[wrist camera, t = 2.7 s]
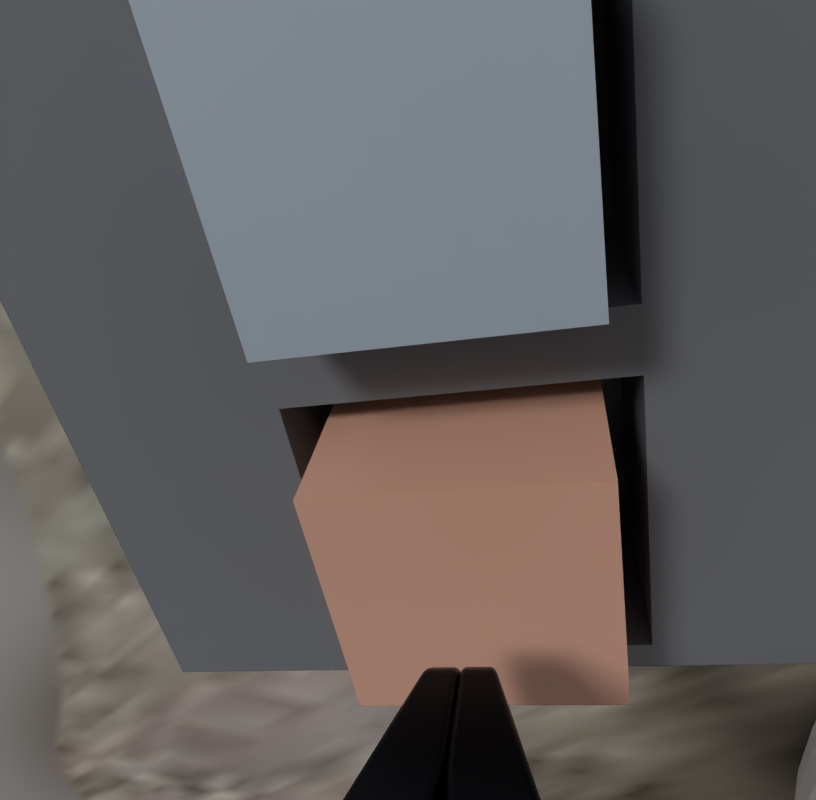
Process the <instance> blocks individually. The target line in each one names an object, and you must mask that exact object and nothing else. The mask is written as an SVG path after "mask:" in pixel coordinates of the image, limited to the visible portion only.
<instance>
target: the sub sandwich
mask: <svg viewBox="0 0 816 800" xmlns="http://www.w3.org/2000/svg"><path fill="white" fill-rule="evenodd" d="M794 800H816V721H815V723H814V725H813V727H812V730H811V733H810V736H809V739H808V742H807V745H806V748H805V751H804V754H803V757H802V760H801V763H800V766H799V768H798V774H797V782H796V791H795V799H794Z"/></svg>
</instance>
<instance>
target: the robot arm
mask: <svg viewBox="0 0 816 800" xmlns="http://www.w3.org/2000/svg"><path fill="white" fill-rule="evenodd" d="M343 800H541V799H540V796H539V794H538V791H537V788H536V785H535V782H534V779H533V776H532V773H531V770H530V767H529V764H528V761H527V758H526V756H525V753H524V750H523V747H522V744H521V741H520V738H519V735H518V732H517V729H516V726H515V723H514V720H513V717H512V715H511V712H510V709H509V706H508V703H507V700H506V697H505V694H504V691H503V688H502V685H501V682H500V679H499V677H498V674H497V671H496V670H495V669H494V668H493V667H465V668H463V669H462V671H461V672H460V670H459V669H458V668H455V667H431V668H428V669H426V670H425V671H424V672H423V673H422V675H421V676H420V678H419V679H418V681H417V682H416V684H415V686H414V687H413V689H412V690H411V692H410V694H409V695H408V697H407V698H406V700H405V702H404V703H403V705H402V706H401V708H400V710H399V711H398V713H397V714H396V716H395V718H394V719H393V721H392V722H391V724H390V726H389V727H388V729H387V730H386V732H385V734H384V735H383V737H382V738H381V740H380V742H379V743H378V745H377V746H376V748H375V750H374V751H373V753H372V754H371V756H370V758H369V759H368V761H367V762H366V764H365V766H364V767H363V769H362V770H361V772H360V774H359V775H358V777H357V778H356V780H355V782H354V783H353V785H352V786H351V788H350V790H349V791H348V793H347V794H346V796H345V798H344V799H343Z"/></svg>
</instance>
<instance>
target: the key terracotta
mask: <svg viewBox="0 0 816 800" xmlns="http://www.w3.org/2000/svg"><path fill="white" fill-rule="evenodd" d="M293 503H294V506H295V509H296V512H297V515H298V518H299V521H300V524H301V527H302V530H303V533H304V536H305V539H306V542H307V545H308V548H309V551H310V554H311V557H312V560H313V563H314V566H315V569H316V573H317V576H318V579H319V582H320V585H321V588H322V591H323V594H324V597H325V600H326V603H327V606H328V609H329V612H330V615H331V618H332V621H333V624H334V627H335V630H336V633H337V636H338V639H339V642H340V646H341V649H342V652H343V655H344V658H345V661H346V664H347V667H348V670H349V673H350V676H351V679H352V682H353V685H354V688H355V691H356V694H357V697H358V700H359V703H360V706H402V705H403V703H404V702H405V700H406V698H407V697H408V695H409V694H410V692H411V690H412V689H413V687H414V686H415V684H416V682H417V681H418V679H419V678H420V676H421V675H422V673H423V672H424V671H425V670H426V669H428V668H431V667H455V668H458V669H459V670H460V672H461V671H462V669H463V668H465V667H493V668H494V669H495V670H496V671H497V674H498V677H499V679H500V682H501V685H502V688H503V691H504V694H505V697H506V700H507V703H508V705H630V691H629V673H628V655H627V637H626V619H625V601H624V583H623V565H622V547H621V529H620V511H619V493H618V478H617V473H616V467H615V461H614V455H613V449H612V444H611V438H610V432H609V426H608V420H607V415H606V409H605V403H604V397H603V391H602V386H601V380H600V379H599V380H588V381H577V382H567V383H556V384H545V385H534V386H523V387H512V388H501V389H490V390H480V391H469V392H458V393H447V394H436V395H425V396H414V397H403V398H392V399H382V400H371V401H360V402H349V403H338V404H334V405H333V407H332V410H331V412H330V414H329V417H328V419H327V421H326V424H325V426H324V428H323V431H322V433H321V436H320V438H319V440H318V443H317V445H316V447H315V450H314V452H313V454H312V457H311V459H310V462H309V464H308V466H307V469H306V471H305V473H304V476H303V478H302V480H301V483H300V485H299V487H298V490H297V492H296V495H295V497H294V499H293Z"/></svg>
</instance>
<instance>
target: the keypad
mask: <svg viewBox="0 0 816 800" xmlns="http://www.w3.org/2000/svg"><path fill="white" fill-rule="evenodd" d="M591 8H592V26H593V44H594V62H595V80H596V98H597V116H598V134H599V152H600V170H601V188H602V206H603V224H604V242H605V260H606V278H607V296H608V314H609V324H606V325H596V326H587V327H577V328H568V329H559V330H549V331H540V332H531V333H521V334H512V335H503V336H493V337H484V338H475V339H465V340H456V341H446V342H437V343H428V344H418V345H409V346H400V347H390V348H381V349H372V350H362V351H353V352H344V353H334V354H325V355H315V356H306V357H297V358H287V359H278V360H269V361H259V362H250V363H247V360H246V357H245V354H244V350H243V347H242V344H241V341H240V338H239V335H238V332H237V329H236V326H235V323H234V320H233V317H232V314H231V311H230V308H229V305H228V302H227V299H226V296H225V293H224V290H223V287H222V284H221V280H220V277H219V274H218V271H217V268H216V265H215V262H214V259H213V256H212V253H211V250H210V247H209V244H208V241H207V238H206V235H205V232H204V229H203V226H202V223H201V220H200V217H199V214H198V211H197V207H196V204H195V201H194V198H193V195H192V192H191V189H190V186H189V183H188V180H187V177H186V174H185V171H184V168H183V165H182V162H181V159H180V156H179V153H178V150H177V147H176V144H175V141H174V138H173V134H172V131H171V128H170V125H169V122H168V119H167V116H166V113H165V110H164V107H163V104H162V101H161V98H160V95H159V92H158V89H157V86H156V83H155V80H154V77H153V74H152V71H151V68H150V65H149V61H148V58H147V55H146V52H145V49H144V46H143V43H142V40H141V37H140V34H139V31H138V28H137V25H136V22H135V19H134V16H133V13H132V10H131V7H130V4H129V1H128V0H0V301H1V303H2V305H3V307H4V309H5V311H6V313H7V315H8V317H9V319H10V321H11V323H12V325H13V327H14V329H15V331H16V333H17V335H18V337H19V339H20V341H21V344H22V346H23V348H24V350H25V352H26V354H27V356H28V358H29V360H30V362H31V364H32V366H33V368H34V370H35V372H36V374H37V376H38V378H39V380H40V382H41V384H42V386H43V388H44V390H45V392H46V394H47V396H48V398H49V401H50V403H51V405H52V407H53V409H54V411H55V413H56V415H57V417H58V419H59V421H60V423H61V425H62V427H63V429H64V431H65V433H66V435H67V437H68V439H69V441H70V443H71V445H72V447H73V449H74V451H75V453H76V455H77V457H78V460H79V462H80V464H81V466H82V468H83V470H84V472H85V474H86V476H87V478H88V480H89V482H90V484H91V486H92V488H93V490H94V492H95V494H96V496H97V498H98V500H99V502H100V504H101V506H102V508H103V510H104V512H105V514H106V517H107V519H108V521H109V523H110V525H111V527H112V529H113V531H114V533H115V535H116V537H117V539H118V541H119V543H120V545H121V547H122V549H123V551H124V553H125V555H126V557H127V559H128V561H129V563H130V565H131V567H132V569H133V571H134V573H135V576H136V578H137V580H138V582H139V584H140V586H141V588H142V590H143V592H144V594H145V596H146V598H147V600H148V602H149V604H150V606H151V608H152V610H153V612H154V614H155V616H156V618H157V620H158V622H159V624H160V626H161V628H162V630H163V632H164V635H165V637H166V639H167V641H168V643H169V645H170V647H171V649H172V651H173V653H174V655H175V657H176V659H177V661H178V663H179V665H180V667H181V669H182V671H183V672H225V671H300V670H348V667H347V664H346V661H345V658H344V655H343V652H342V649H341V646H340V642H339V639H338V636H337V633H336V630H335V627H334V624H333V621H332V618H331V615H330V612H329V609H328V606H327V603H326V600H325V597H324V594H323V591H322V588H321V585H320V582H319V579H318V576H317V573H316V569H315V566H314V563H313V560H312V557H311V554H310V551H309V548H308V545H307V542H306V539H305V536H304V533H303V530H302V527H301V524H300V521H299V518H298V515H297V512H296V509H295V506H294V503H293V499H294V497H295V495H296V492H297V490H298V487H299V485H300V483H301V480H302V478H303V476H304V473H305V471H306V469H307V466H308V464H309V462H310V459H311V457H312V454H313V452H314V450H315V447H316V445H317V443H318V440H319V438H320V436H321V433H322V431H323V428H324V426H325V424H326V421H327V419H328V417H329V414H330V412H331V410H332V407H333V405H334V404H338V403H349V402H360V401H371V400H382V399H392V398H403V397H414V396H425V395H436V394H447V393H458V392H469V391H480V390H490V389H501V388H512V387H523V386H534V385H545V384H556V383H567V382H577V381H588V380H599V379H600V380H601V386H602V391H603V397H604V403H605V409H606V415H607V420H608V426H609V432H610V438H611V444H612V449H613V455H614V461H615V467H616V473H617V478H618V493H619V511H620V529H621V547H622V565H623V583H624V601H625V619H626V637H627V655H628V666H679V665H754V664H816V0H591Z"/></svg>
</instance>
